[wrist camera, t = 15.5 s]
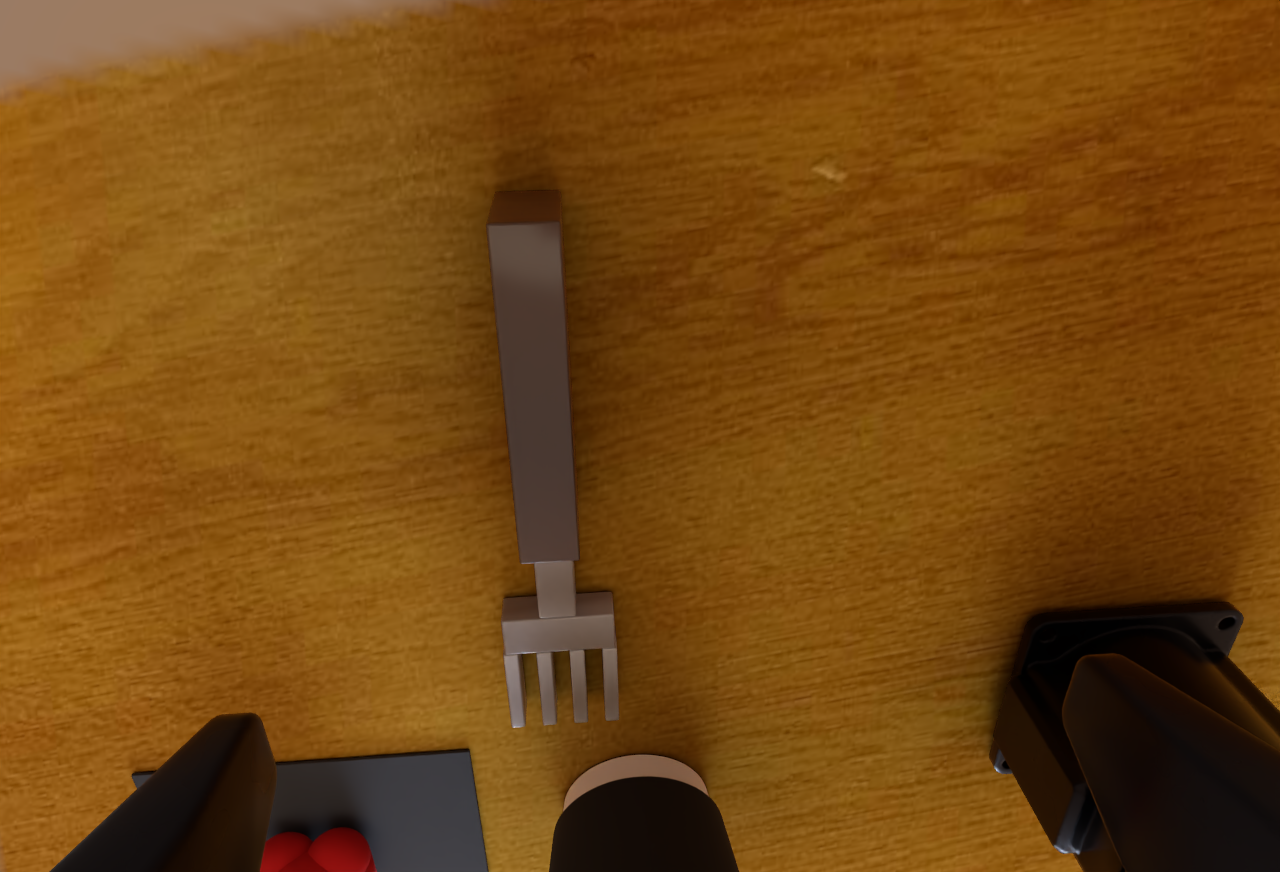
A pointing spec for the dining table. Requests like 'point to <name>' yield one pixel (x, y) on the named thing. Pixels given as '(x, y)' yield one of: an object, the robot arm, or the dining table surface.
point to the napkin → (386, 807)
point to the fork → (543, 457)
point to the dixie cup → (640, 821)
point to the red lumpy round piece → (318, 852)
